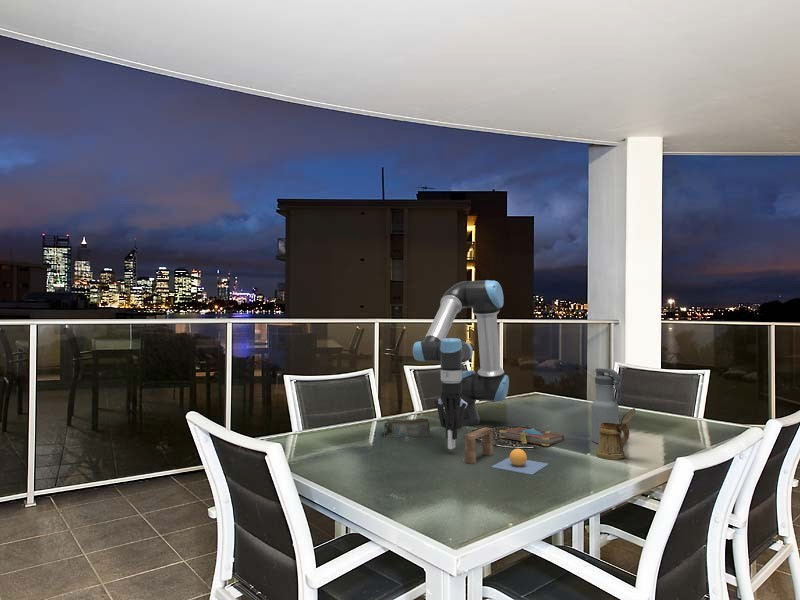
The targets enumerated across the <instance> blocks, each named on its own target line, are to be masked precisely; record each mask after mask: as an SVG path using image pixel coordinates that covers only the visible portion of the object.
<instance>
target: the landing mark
mask: <svg viewBox="0 0 800 600" xmlns="http://www.w3.org/2000/svg"><path fill="white" fill-rule="evenodd" d="M547 466H549V463H546V462H541V461H535V460H529V459H527V460H526V463H525V464H524V465H522V466H515V465H514V464H512V463H511V461H510V456H509V457H507V458H505V459H502V460H500V461H499V462H497V463H495V464H494V465H492V466H490V468H493V469H498V470H504V471H508V472H514V473H520V474H526V475H532V476H533V475H535V473H538V472H539V471H540V470H541V471H542V469H544V468H545V467H547Z"/></svg>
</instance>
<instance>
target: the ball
mask: <svg viewBox="0 0 800 600" xmlns="http://www.w3.org/2000/svg"><path fill="white" fill-rule="evenodd" d="M509 457H510V461H511V463H512V464H514V465H515V466H522V465H524V464H525V463H526V460H528V456H527V453H526V452H525V451H524V450H523V449H521V448H515V449H513V450H511V452H510V453H509Z"/></svg>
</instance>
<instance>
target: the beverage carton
mask: <svg viewBox="0 0 800 600" xmlns="http://www.w3.org/2000/svg"><path fill="white" fill-rule="evenodd" d="M430 429H431V426H430V421H429V419H428V418H413V419H385V420H383V437H384V438H396V437H395V436H398V437H397V438H413V437H415V438H417V437H430V434H431V433H430V431H431V430H430Z"/></svg>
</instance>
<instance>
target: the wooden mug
mask: <svg viewBox="0 0 800 600" xmlns="http://www.w3.org/2000/svg"><path fill="white" fill-rule="evenodd" d="M635 414H636V408H635V407H633V408H632V409H630V410H629V411H627V412H626V413H625V414H624V415H623V416H622V418H621V420H620V422H619V423H617V424H616V423H609V422H605V423H601V427H600V429H599V432H600V436H599V444H598V443H597V444H598V446H597V450H596V457H598V458H600V459H604V460H612V461H613V460H614V461H618V460H622V459H624V458H625V456H626V455H625V451H624V446H625V445H626V443H627V442H628V440H629V438H630V429H629V427H628V425H627V424H628V423H629V422H630V420H632V418H633V417H634V415H635ZM622 432H623V437H622V435H621V434H622Z"/></svg>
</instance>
